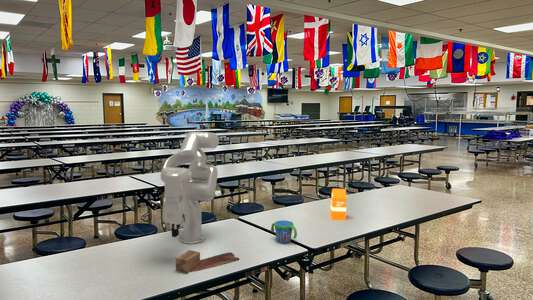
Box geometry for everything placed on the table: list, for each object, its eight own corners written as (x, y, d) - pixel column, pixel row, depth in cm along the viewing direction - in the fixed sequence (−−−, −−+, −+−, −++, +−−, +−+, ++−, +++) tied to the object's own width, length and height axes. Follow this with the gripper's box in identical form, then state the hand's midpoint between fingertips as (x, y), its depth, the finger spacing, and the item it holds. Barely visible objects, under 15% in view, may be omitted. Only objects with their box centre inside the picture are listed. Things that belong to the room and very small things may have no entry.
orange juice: (345, 220, 233) (347, 190, 231) (331, 220, 234) (333, 189, 231) (343, 216, 241) (344, 187, 239) (330, 216, 241) (331, 187, 239)
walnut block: (175, 271, 158) (175, 258, 157) (189, 262, 167) (188, 249, 166) (187, 273, 156) (187, 260, 155) (200, 264, 165) (200, 252, 164)
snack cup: (266, 239, 197) (266, 221, 195) (278, 235, 204) (279, 217, 203) (288, 248, 186) (288, 229, 185) (300, 242, 194) (301, 224, 192)
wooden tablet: (188, 271, 155) (179, 260, 163) (188, 276, 156) (179, 265, 164) (241, 258, 170) (231, 249, 178) (240, 262, 171) (230, 253, 179)
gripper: (155, 198, 165) (157, 236, 168) (182, 203, 159) (183, 242, 162) (166, 194, 171) (167, 230, 175) (192, 198, 165) (193, 235, 169)
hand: (175, 235), depth 169 cm, fingers closed
